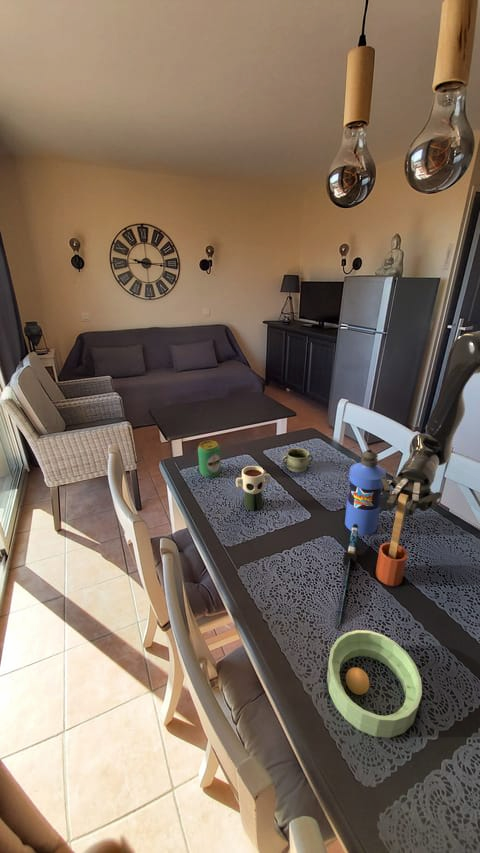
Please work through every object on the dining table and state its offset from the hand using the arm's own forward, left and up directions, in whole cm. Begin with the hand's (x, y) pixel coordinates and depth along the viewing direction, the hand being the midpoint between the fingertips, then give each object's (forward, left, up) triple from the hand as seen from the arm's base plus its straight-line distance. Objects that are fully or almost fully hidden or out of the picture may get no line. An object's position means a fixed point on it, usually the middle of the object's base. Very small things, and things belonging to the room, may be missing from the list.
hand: (398, 510), depth 77 cm
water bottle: (0, -22, -23) cm, 32 cm away
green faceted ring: (+9, +24, -23) cm, 34 cm away
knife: (+8, -2, -23) cm, 24 cm away
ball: (+12, +24, -22) cm, 34 cm away
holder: (-2, -2, -23) cm, 23 cm away
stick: (-2, -2, -22) cm, 22 cm away
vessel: (+16, -56, -23) cm, 63 cm away
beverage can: (+49, -51, -23) cm, 75 cm away
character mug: (+32, -31, -23) cm, 51 cm away
